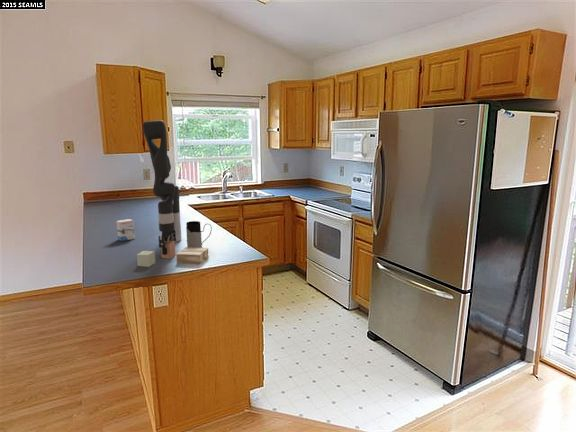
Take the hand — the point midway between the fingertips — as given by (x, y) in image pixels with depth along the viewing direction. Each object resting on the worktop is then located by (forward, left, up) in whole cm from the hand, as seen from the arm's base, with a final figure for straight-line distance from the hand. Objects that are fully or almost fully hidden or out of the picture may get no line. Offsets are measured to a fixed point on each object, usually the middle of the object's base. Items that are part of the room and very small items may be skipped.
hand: (168, 252), depth 197 cm
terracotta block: (0, 0, -2) cm, 2 cm away
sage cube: (+13, -5, -2) cm, 14 cm away
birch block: (+3, +15, -3) cm, 15 cm away
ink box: (-27, -41, -3) cm, 49 cm away
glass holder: (-17, +10, -3) cm, 20 cm away
